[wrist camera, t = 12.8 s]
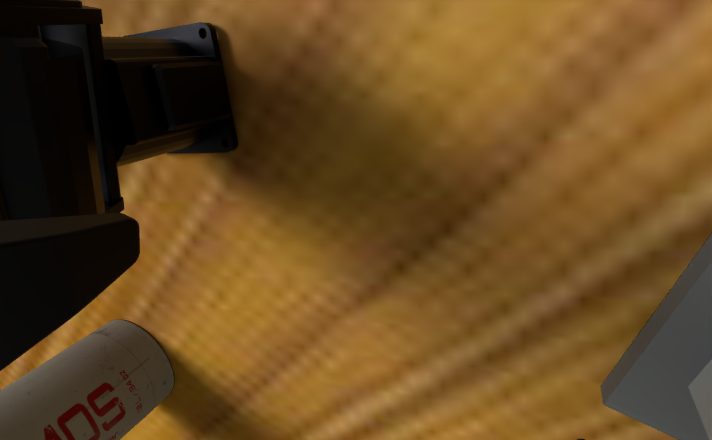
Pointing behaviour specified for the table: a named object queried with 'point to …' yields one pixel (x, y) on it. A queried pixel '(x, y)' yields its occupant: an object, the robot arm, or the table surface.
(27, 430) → the thermos bottle
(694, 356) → the socket
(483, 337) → the table surface
